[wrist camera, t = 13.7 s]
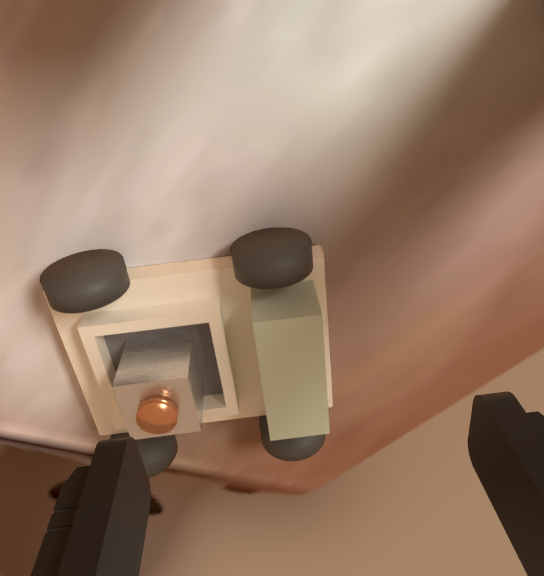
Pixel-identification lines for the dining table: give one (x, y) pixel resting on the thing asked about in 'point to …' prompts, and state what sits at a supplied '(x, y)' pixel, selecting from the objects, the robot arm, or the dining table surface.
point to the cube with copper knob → (160, 385)
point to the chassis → (208, 334)
